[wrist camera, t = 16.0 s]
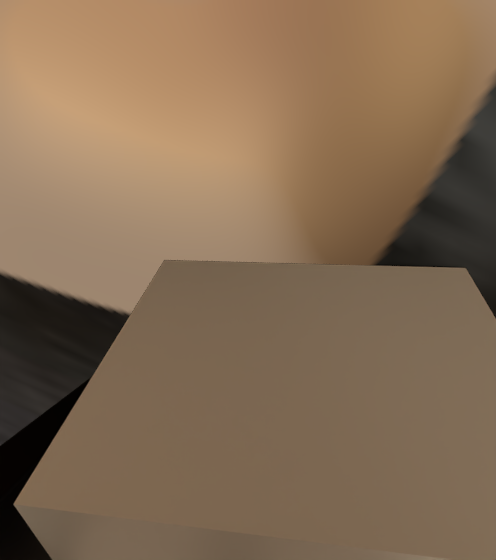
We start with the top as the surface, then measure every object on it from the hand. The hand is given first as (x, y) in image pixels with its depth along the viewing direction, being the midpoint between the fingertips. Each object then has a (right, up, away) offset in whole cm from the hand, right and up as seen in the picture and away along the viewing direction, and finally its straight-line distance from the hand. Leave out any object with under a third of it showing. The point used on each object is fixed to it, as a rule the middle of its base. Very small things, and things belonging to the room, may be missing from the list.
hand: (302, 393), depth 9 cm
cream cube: (0, 0, +3) cm, 3 cm away
